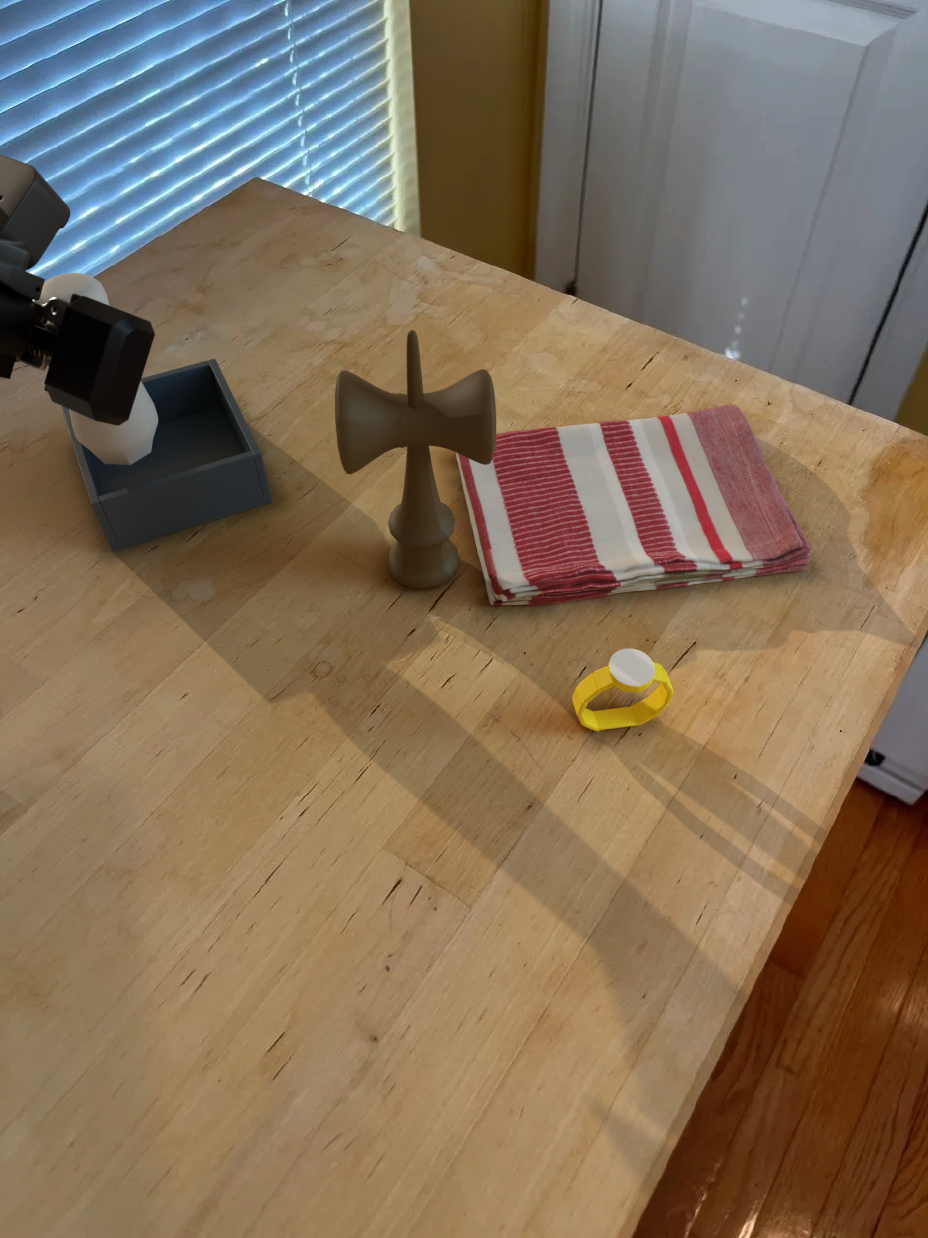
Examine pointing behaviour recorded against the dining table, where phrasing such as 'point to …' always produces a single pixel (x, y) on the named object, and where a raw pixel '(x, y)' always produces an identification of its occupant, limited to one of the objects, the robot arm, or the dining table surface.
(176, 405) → the bin
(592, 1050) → the dining table surface
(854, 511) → the dining table surface
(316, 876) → the dining table surface
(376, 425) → the kendama
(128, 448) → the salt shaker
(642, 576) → the dish towel
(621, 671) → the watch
